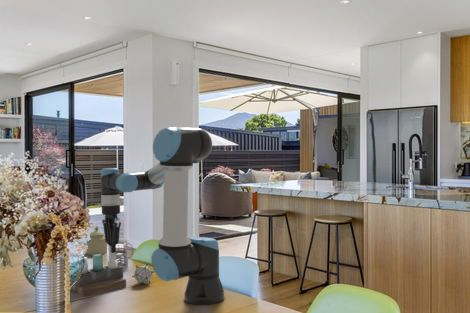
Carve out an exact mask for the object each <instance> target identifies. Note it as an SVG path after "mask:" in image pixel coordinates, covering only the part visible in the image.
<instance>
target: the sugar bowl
mask: <svg viewBox="0 0 470 313" xmlns="http://www.w3.org/2000/svg"><path fill="white" fill-rule="evenodd" d="M95 227H96V228H95ZM95 227H94V231H92V232H90V233H89V234H90V235H89V236H90V238H91V240H89V241H87V240H86V246H87V245H88V249H87V248H86V254H87V255H89V256H93V255H97V254H101V255H106V254H107V253H108V244H107V242H105V234H104V231H102V230H99V227H98V226H95Z"/></svg>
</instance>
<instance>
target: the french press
mask: <svg viewBox="0 0 470 313" xmlns="http://www.w3.org/2000/svg"><path fill="white" fill-rule="evenodd" d="M117 218H118V221H121V219H120V217H117ZM120 244H125V246H126V247H128V246H129V245H130V246H131V254H130V255H129V256H128V252H127V248H126V247H116V260H117V265H119V266H122V267H123V273H124V272H125V273H126V272H128V271H130V270H129V269H130V267H129V259H131V257H132V256H133V255H134V247H133V245H132V244H131V243H129V242H128V239H126V238H124V237H119V243H118V245H120Z"/></svg>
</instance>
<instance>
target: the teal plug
mask: <svg viewBox="0 0 470 313" xmlns="http://www.w3.org/2000/svg"><path fill="white" fill-rule="evenodd" d="M103 256H104V254H97V255H92V269H93V271H101V270H103V267H104V264H103V263H104V260H103Z"/></svg>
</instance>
